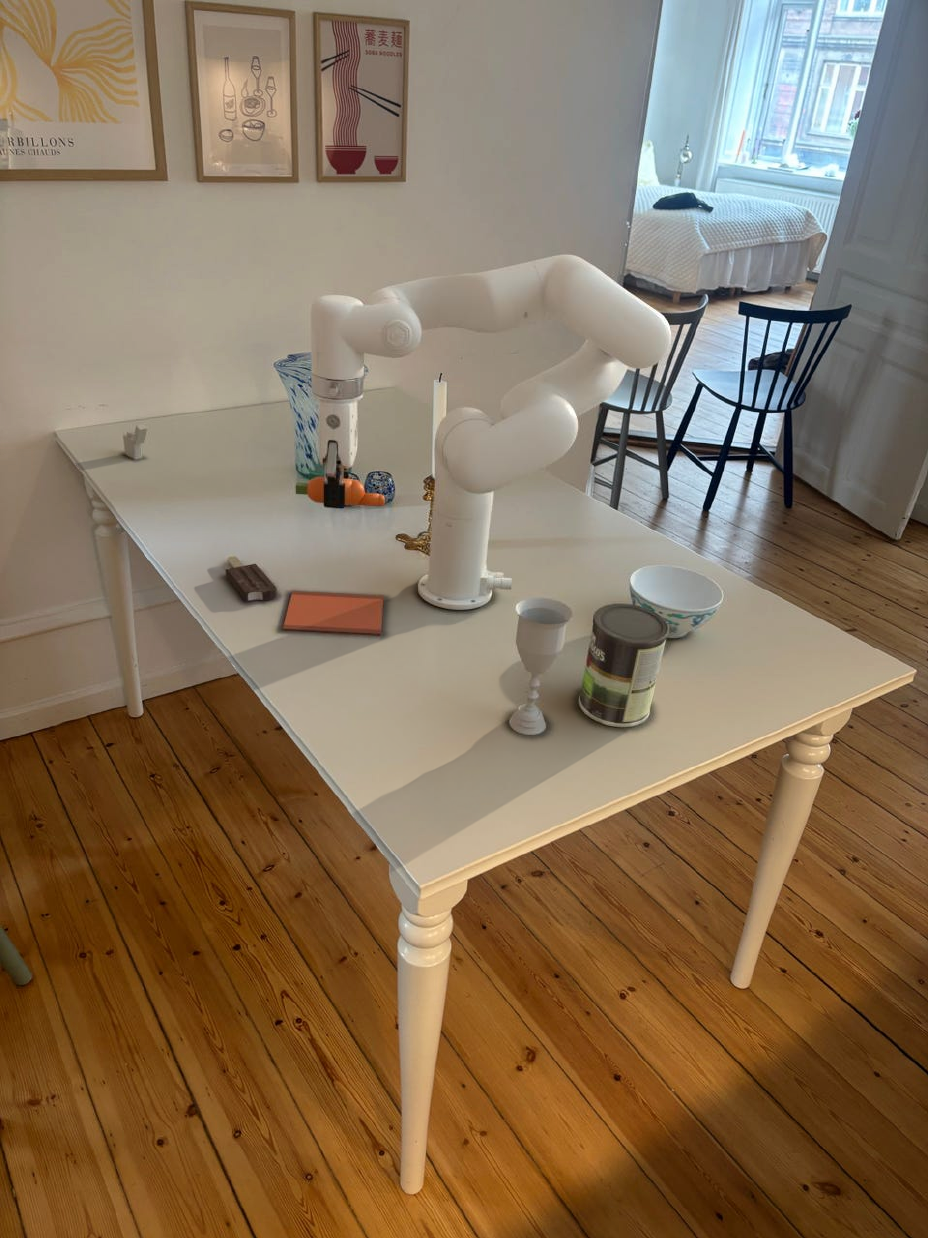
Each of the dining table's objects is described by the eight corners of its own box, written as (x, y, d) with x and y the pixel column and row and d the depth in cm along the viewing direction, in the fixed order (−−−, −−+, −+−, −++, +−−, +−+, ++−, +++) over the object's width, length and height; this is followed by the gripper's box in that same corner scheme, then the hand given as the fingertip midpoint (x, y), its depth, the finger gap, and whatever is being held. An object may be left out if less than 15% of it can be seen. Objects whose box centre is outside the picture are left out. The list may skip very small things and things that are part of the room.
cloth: (383, 597, 154) (383, 595, 154) (380, 635, 144) (380, 633, 144) (292, 592, 153) (292, 590, 153) (282, 630, 143) (282, 628, 143)
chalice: (551, 710, 131) (568, 599, 122) (556, 740, 125) (576, 626, 116) (499, 707, 130) (513, 596, 121) (502, 737, 125) (517, 622, 115)
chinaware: (603, 620, 154) (610, 579, 150) (660, 596, 163) (669, 557, 159) (673, 662, 145) (684, 619, 141) (731, 635, 153) (742, 594, 149)
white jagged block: (124, 453, 198) (120, 417, 194) (131, 452, 199) (128, 416, 195) (142, 463, 194) (139, 427, 190) (150, 462, 195) (146, 425, 191)
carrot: (385, 501, 147) (386, 477, 145) (383, 511, 144) (384, 487, 142) (298, 494, 146) (298, 471, 144) (294, 505, 143) (293, 480, 141)
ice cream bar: (216, 564, 159) (248, 604, 149) (215, 556, 158) (247, 595, 148) (245, 559, 162) (279, 598, 151) (245, 550, 161) (278, 589, 150)
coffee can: (585, 727, 128) (601, 641, 121) (572, 684, 137) (587, 601, 130) (658, 729, 129) (678, 643, 122) (640, 686, 138) (658, 604, 131)
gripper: (357, 405, 128) (354, 525, 138) (368, 371, 143) (365, 482, 152) (302, 400, 128) (303, 521, 137) (319, 367, 143) (319, 478, 152)
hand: (336, 499), depth 145 cm, fingers closed on carrot, 4 cm apart
